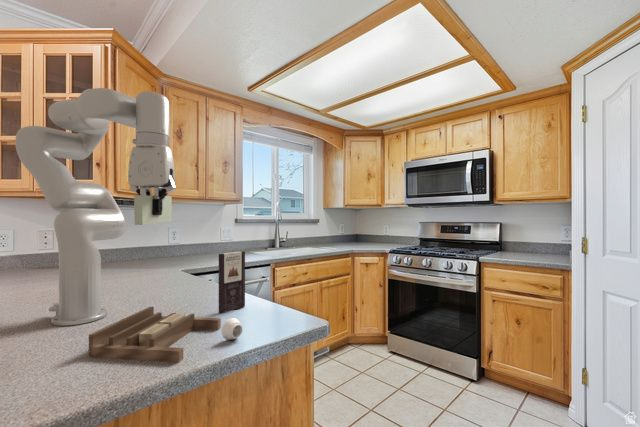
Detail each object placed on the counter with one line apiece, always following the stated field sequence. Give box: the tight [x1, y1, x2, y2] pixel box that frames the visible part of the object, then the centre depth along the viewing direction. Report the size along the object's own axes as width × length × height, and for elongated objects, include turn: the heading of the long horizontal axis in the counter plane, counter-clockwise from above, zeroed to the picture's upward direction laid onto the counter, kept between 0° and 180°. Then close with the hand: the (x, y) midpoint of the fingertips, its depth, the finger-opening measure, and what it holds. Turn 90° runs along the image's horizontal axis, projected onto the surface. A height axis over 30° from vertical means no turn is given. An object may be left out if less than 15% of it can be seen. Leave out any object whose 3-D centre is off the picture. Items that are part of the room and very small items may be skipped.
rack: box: [88, 306, 222, 363], centre depth 72 cm, size 20×20×5 cm
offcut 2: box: [159, 313, 186, 327], centre depth 76 cm, size 3×6×4 cm, turn 173°
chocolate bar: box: [218, 250, 246, 314], centre depth 97 cm, size 9×1×18 cm, turn 140°
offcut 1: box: [139, 324, 169, 346], centre depth 69 cm, size 3×6×4 cm, turn 174°
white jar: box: [221, 317, 243, 341], centre depth 73 cm, size 5×3×5 cm, turn 142°
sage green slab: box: [133, 195, 173, 226], centre depth 79 cm, size 2×7×12 cm
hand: (152, 214), depth 78 cm, fingers closed
